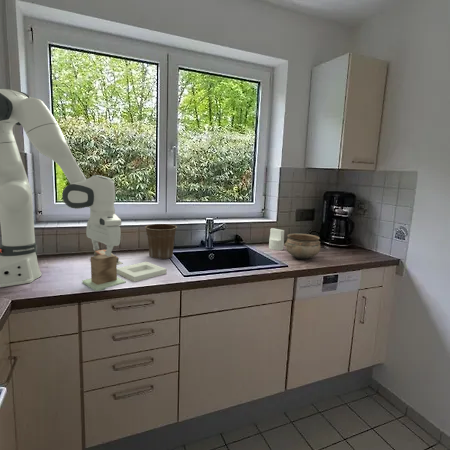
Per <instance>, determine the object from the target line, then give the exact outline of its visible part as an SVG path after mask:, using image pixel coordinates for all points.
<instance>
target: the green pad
mask: <svg viewBox="0 0 450 450" xmlns="http://www.w3.org/2000/svg"><path fill="white" fill-rule="evenodd" d="M126 282H127V281H126V280H124V279H123V278H120V277H118V276H117V280H115V281H111V282H107V283H103V284H99V285H97V284H95V283H93V282H92V281H91V278H87V279H82V281H81V283H82V284H84V285H85V286H87V287H88V288H91V289H92V290H94V291H95V292H98V291H99V292H100V291H103V290H106V289H107V288H110V287H114V286H118V285H122V284H125V283H126Z"/></svg>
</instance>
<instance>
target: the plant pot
mask: <svg viewBox="0 0 450 450" xmlns="http://www.w3.org/2000/svg"><path fill="white" fill-rule="evenodd" d="M144 228H145V230H146V235H147V245H148V252H149V254H148V255H149V257H150V258H153V259H161V260H166V259H170V258H172V257H173V255H174V246H175V236H176V232H177V230H176V229H177V228H178V226H177V225H174V224H168V223H154V224H148V225H146V226H145V227H144Z"/></svg>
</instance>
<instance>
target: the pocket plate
mask: <svg viewBox="0 0 450 450" xmlns="http://www.w3.org/2000/svg"><path fill="white" fill-rule="evenodd" d="M165 274H166V275H167V268H166V267H162V266H159V265H157V264H154V263H151V262H149V261H143V262H138V263H135V264H128V265H125V266H120V267H117V275H119V276H121V277H124V278H126V279H128V280H129V281H131V282H139V281H143V280H147V279H151V278H154V277H155V278H156V277H158V276H161V275H165Z"/></svg>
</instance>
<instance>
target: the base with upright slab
mask: <svg viewBox="0 0 450 450" xmlns="http://www.w3.org/2000/svg"><path fill="white" fill-rule="evenodd" d="M269 230H270V231H269V239H268V240H269V242H268V249H269V250H271V251H282V250H284V246H285V245H284V244H285V229H279V228H274V227H271V228H270V229H269Z"/></svg>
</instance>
